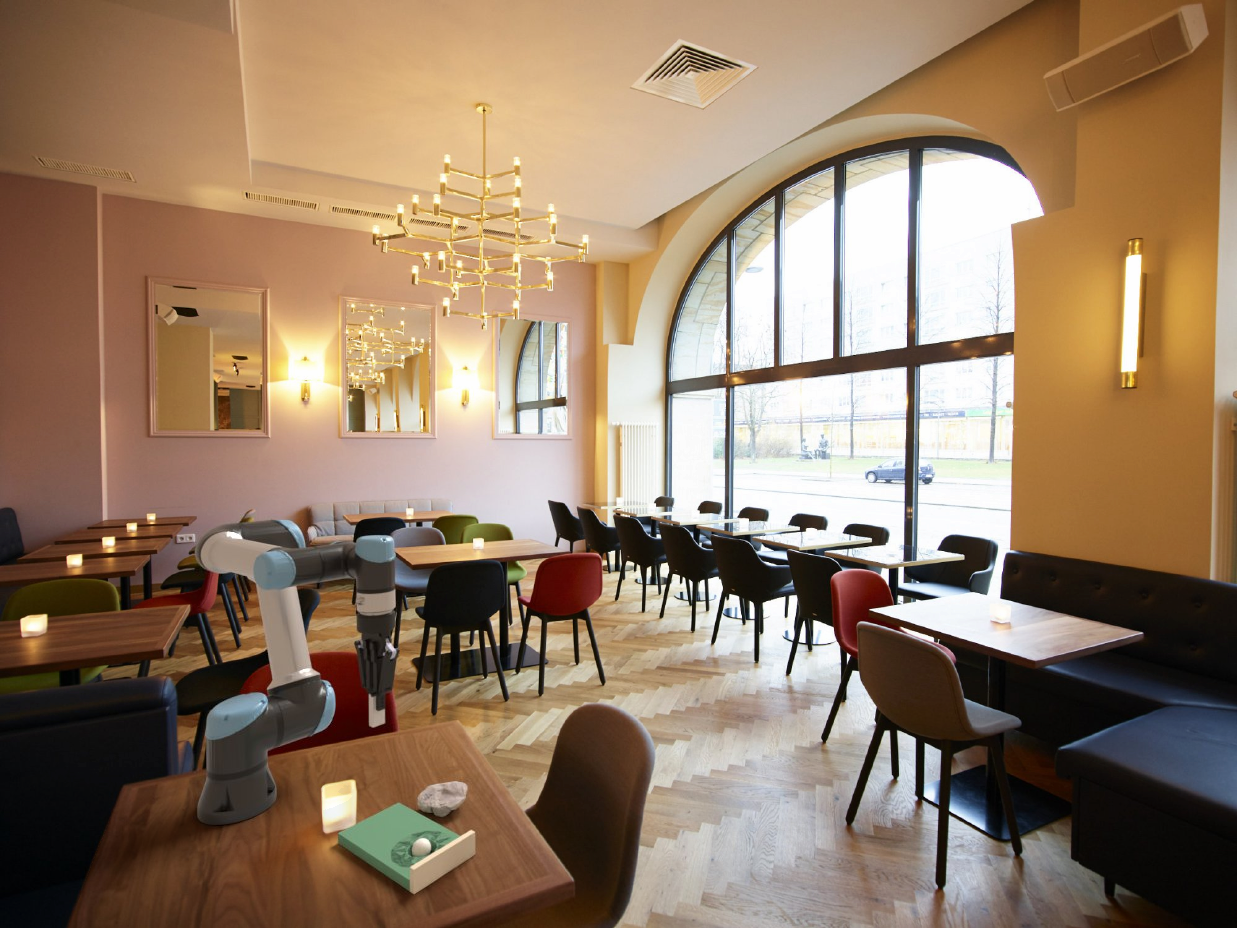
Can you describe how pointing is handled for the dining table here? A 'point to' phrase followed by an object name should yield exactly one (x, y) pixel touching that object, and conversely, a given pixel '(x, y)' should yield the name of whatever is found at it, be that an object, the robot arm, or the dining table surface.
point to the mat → (407, 846)
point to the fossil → (442, 797)
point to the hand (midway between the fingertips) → (377, 724)
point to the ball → (421, 848)
